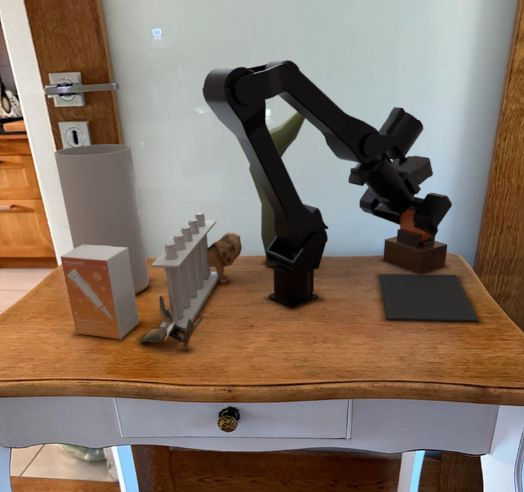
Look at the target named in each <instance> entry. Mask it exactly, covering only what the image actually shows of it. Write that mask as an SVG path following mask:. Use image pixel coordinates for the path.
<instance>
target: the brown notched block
mask: <svg viewBox="0 0 524 492" xmlns="http://www.w3.org/2000/svg"><path fill="white" fill-rule="evenodd" d="M420 237H421V234H419V233H415V232H412V231H409V230H405V229H400V228H398V229H397V232H396V236H393V237H389V238H385V239H384V245H383V260H382V261H383V262H386V263H389V264H391V265H393V266H397V267H400V268H403V269H406V270H408V271H410V272H411V271H412V272H413V273H415V274H419V275H422V274H424V273H427V272H431V271H433V270H438V269H440V268H444V267H446V260H447V253H448V243H445V242H442V241H437V240H436V235H435V236H434V235H432V236H431V237H430V238H429V239H428V240H426V241H422V242H420Z"/></svg>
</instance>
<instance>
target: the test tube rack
mask: <svg viewBox="0 0 524 492" xmlns="http://www.w3.org/2000/svg"><path fill="white" fill-rule="evenodd" d="M205 217H206V216H205V213H204V212H201V211H199V212H196V213H195V215H194V218H190V219H188V222H187V223H188V224H187V225H184V226H182V227H181V229H180V232H181V233H175V234H173V238H172V240H173V241H167V242H165V243H164V251H163V252H162V253H161V254H159V256H158V257H157V258H156V259H155V260H154V261H153V262H152V263H151V264H150V267H151V268H155V269H156V268H159V269H161V268H163V269H164V272H165V276H166V283H167V289H168V290H167V292H168V300H169V308H170V310H169V311H170V313H171V315H172V317H173V322H174V324H176V325H177V326H180V327H182V328H187V323H188V319H190V320H191V321H192V322H193V323H194V321H195V319H196V317H197V316H198V314H199V312H200V311H201V309H202V308H203V306H204V304H205V303H206V301H207V299H208V298H209V296H210V294H211V292H212V291H213V289H215V286H216V284H217V283H218V281H219V279H218V274H216V273H217V271H211V267H209V265H208V261H207V254H208V251H207V248H208V247H209V243H208V242H209V241H208V234H209V232H210V231H211V229H213V228H214V226H215V225H216V223H217V219H205ZM165 326H166V323H165V321H164V320H162V322H161V324H159V327H158V329H161V328H164V327H165Z"/></svg>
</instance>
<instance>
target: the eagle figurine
mask: <svg viewBox="0 0 524 492" xmlns="http://www.w3.org/2000/svg"><path fill="white" fill-rule="evenodd" d="M170 311H171V310H170V309H167V308H166V304H165V298H164V297H163V296H162V295H160V296H159V314H160V316H161V318H162V321H165V323H166V326H165V327H164V328H161V329H159V328H154V329H151V330H150V331H149V332H147V334H146V335H144V336H142V339H141V341H140V343H146V342H151V343H153V344H154V343H159V342H160V341H162V340H163V339H164V338H165V339H164V341H165V342H166V341H167V340H168V338H169V337H170V338H173V340H175V341H178V342H180V343H183V345H182V346H183V348H184V350H185V351H188V350H189V349H188V346H189V342H190V340H191V337H192V335H193V333H194V331H195V330H196V329H197V327H198V326H199V325H200V323H201V322H202V320H203V317H204V315H203V314H201V315H200V317H199V318H198V319H197V320H196V321H195V323H194V321H193V322H192V321H191V320H190V319H188V323H187V328H182V327H180V326H177V325H176V324H174V322H173V317H172V315H171V313H170ZM182 335H183V336H182Z"/></svg>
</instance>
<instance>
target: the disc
mask: <svg viewBox="0 0 524 492" xmlns="http://www.w3.org/2000/svg"><path fill="white" fill-rule="evenodd" d="M414 213H415V211H413V210H409V209H407V211H406V212H405V213H402V215H401V217H400V225H399V229H405V230H409V231H412V232H415V233H419V234H421V237H420V242H422V241H426V240H428V239H429V238H430V237H431V236H432V235H431V234H429V233H427V232H424V231H422V230H420V229H418V228H415V227H414V225H415V223H414V222H413V216H414Z"/></svg>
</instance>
